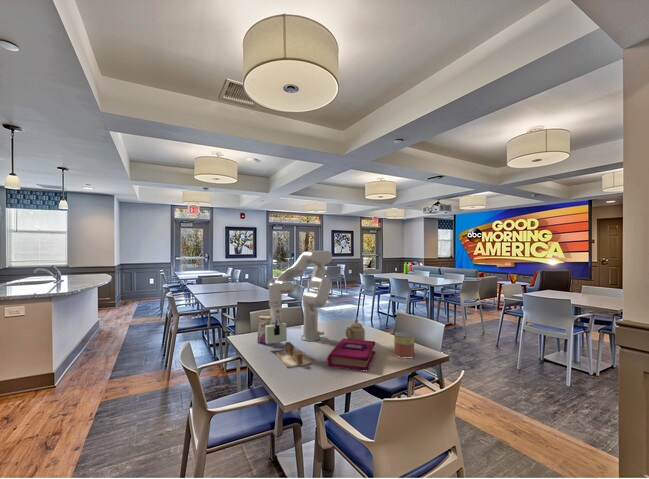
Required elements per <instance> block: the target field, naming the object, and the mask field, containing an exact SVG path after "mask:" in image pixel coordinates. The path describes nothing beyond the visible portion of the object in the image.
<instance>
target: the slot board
mask: <svg viewBox="0 0 649 479" xmlns="http://www.w3.org/2000/svg"><path fill="white" fill-rule="evenodd" d="M275 355H277V357H278V358H279V360H280V361H281V362H282V363H283V365H285V367H286V369H288V368H294V367H301V366H308V365H313V363H314V362H313V361H312V360H311V359H310V358H309V357H308V356H306V354H305V353H303V351H302V350H300V349H299V348H297V349H295V346H294V344H293V343H292V342H291V341H285V350H282V351H276V352H275Z"/></svg>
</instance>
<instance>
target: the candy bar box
mask: <svg viewBox="0 0 649 479" xmlns="http://www.w3.org/2000/svg"><path fill="white" fill-rule="evenodd" d="M265 325H272V321H271V316H270V315H268V316H267V315H260V316H258V317H257V344H259V343H260V344H267V343H266V342H265ZM271 344H275V343H271Z"/></svg>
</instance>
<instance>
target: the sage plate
mask: <svg viewBox="0 0 649 479" xmlns="http://www.w3.org/2000/svg"><path fill="white" fill-rule="evenodd" d="M276 325H277V324H276ZM274 328H275V324H272V325H265V342H266V343H265V344H266V345H270V344H271V343H274V344H277V343H283V342H288V338H287V334H288V333H287V323H285V322H282V323H280V335H274Z"/></svg>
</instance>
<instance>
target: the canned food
mask: <svg viewBox="0 0 649 479" xmlns="http://www.w3.org/2000/svg"><path fill="white" fill-rule="evenodd" d="M393 334H394V338H393V339H394V340H393V342H394V350H393V352H394V353H393V354H395V355H397V356H400V357H412V356H414V357H415V334H414V333H412V332H410V331H405V330H402V331H395V332H394V333H393ZM395 355H394V356H395ZM397 356H396V357H397ZM400 357H399V358H400Z"/></svg>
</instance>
